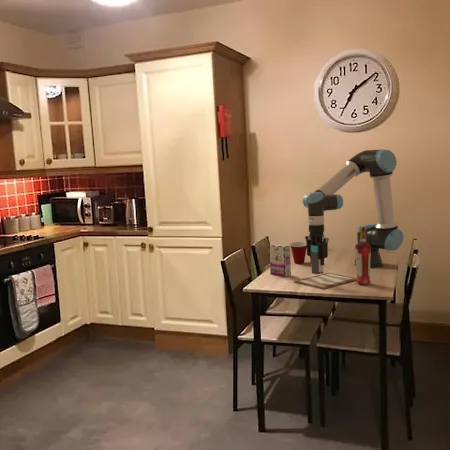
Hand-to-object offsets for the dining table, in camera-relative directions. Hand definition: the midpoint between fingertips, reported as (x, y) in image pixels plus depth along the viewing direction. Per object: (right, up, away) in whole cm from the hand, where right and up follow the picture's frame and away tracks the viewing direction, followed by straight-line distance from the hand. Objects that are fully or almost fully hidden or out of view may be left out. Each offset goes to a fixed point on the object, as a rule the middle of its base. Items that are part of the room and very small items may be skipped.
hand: (317, 270), depth 253 cm
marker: (0, -1, 0) cm, 1 cm away
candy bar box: (-16, -4, +23) cm, 28 cm away
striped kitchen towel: (+5, -6, +5) cm, 9 cm away
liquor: (+22, -6, -4) cm, 23 cm away
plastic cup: (-2, 0, +51) cm, 51 cm away
